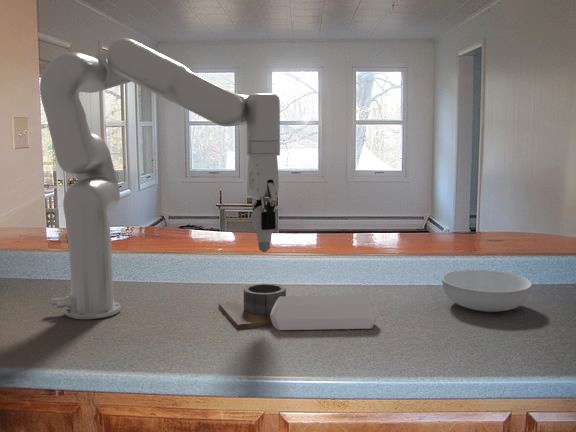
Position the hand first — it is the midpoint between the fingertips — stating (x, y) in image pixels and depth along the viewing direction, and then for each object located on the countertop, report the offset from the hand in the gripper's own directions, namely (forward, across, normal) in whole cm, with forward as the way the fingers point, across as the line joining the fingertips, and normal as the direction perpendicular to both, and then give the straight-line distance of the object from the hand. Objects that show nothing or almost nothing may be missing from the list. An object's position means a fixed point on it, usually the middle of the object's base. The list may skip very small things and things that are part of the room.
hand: (263, 226), depth 150 cm
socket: (+21, 0, 0) cm, 21 cm away
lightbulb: (+6, 0, 0) cm, 6 cm away
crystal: (+21, +13, +10) cm, 27 cm away
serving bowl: (+21, +13, +52) cm, 58 cm away
